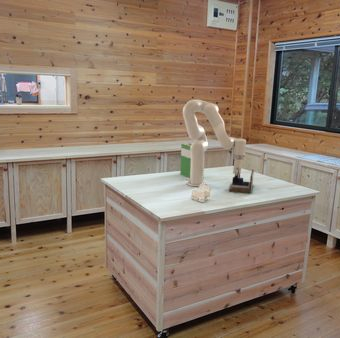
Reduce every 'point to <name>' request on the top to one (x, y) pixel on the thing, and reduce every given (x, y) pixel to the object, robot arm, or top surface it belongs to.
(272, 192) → the top surface
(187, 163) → the hardback book
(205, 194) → the cream knobbly stepped block
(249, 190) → the brown desk organizer
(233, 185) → the trainer
